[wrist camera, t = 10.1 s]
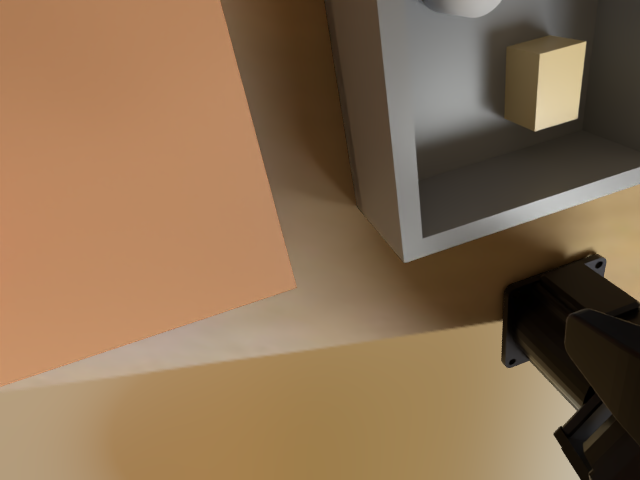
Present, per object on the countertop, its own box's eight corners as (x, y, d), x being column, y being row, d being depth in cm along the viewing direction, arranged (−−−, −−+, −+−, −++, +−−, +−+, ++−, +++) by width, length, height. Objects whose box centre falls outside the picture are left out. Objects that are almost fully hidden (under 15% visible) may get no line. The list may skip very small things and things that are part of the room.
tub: (582, 136, 23) (673, 172, 19) (356, 206, 22) (404, 263, 17) (621, -178, 17) (771, -227, 13) (305, -116, 15) (361, -148, 11)
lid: (283, 257, 22) (333, 373, 16) (-12, 352, 20) (-90, 527, 14) (192, -77, 15) (216, -111, 9) (-275, 19, 13) (-683, 66, 7)
